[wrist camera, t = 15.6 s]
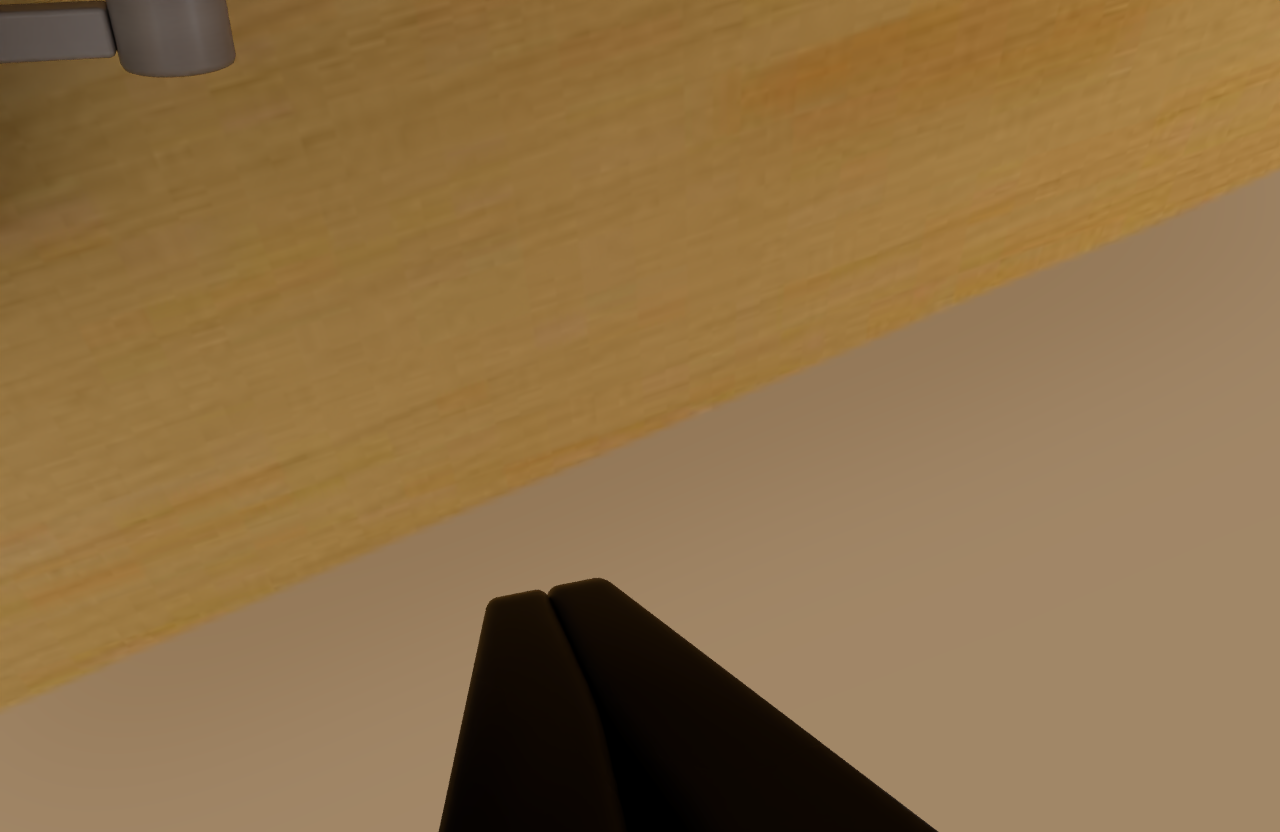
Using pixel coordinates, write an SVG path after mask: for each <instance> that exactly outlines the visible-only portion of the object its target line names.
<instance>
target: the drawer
mask: <svg viewBox="0 0 1280 832" xmlns="http://www.w3.org/2000/svg"><path fill="white" fill-rule="evenodd" d="M105 1H106V2H105ZM105 1H78V2H54V3H30V4H6V5H0V64H3V63H21V62H39V61H57V60H75V59H94V58H111V57H113V56H115V54H116V51H118V55H119V59H120V63H121V65H122V66H123V68H124V69H125V70H126V71H127V72H129V73H133V74H137V75H141V76H148V77H185V76H194V75H201V74H206V73H211V72H215V71H218V70H221V69H223V68H226V67H228V66H230V65H231V64H233V63H234V61H235V57H236V53H235V47H234V42H233V36H232V31H231V26H230V20H229V15H228V9H227V4H226V0H105Z"/></svg>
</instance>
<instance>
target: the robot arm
mask: <svg viewBox="0 0 1280 832" xmlns="http://www.w3.org/2000/svg"><path fill="white" fill-rule="evenodd" d="M439 832H938V831H937V830H935V829H934V828H933V827H931V826H930V825H929V824H927V823H926V822H925V821H923V820H922V819H921V818H920V817H918V816H917V815H915V814H914V813H913V812H912V811H910V810H909V809H907V808H906V807H905V806H903V805H902V804H901V803H900V802H898V801H897V800H896V799H895V798H893V797H892V796H891V795H889V794H888V793H887V792H885V791H884V790H883V789H881V788H880V787H879V786H877V785H876V784H875V783H873V782H872V781H871V780H870V779H868V778H867V777H866V776H864V775H863V774H861V773H860V772H859V771H858V770H856V769H855V768H854V767H852V766H851V765H850V764H849V763H847V762H846V761H845V760H843V759H842V758H840V757H839V756H838V755H837V754H835V753H834V752H833V751H831V750H830V749H829V748H827V747H826V746H825V745H823V744H822V743H821V742H820V741H818V740H817V739H816V738H814V737H813V736H812V735H810V734H809V733H808V732H806V731H805V730H804V729H803V728H801V727H800V726H799V725H797V724H796V723H795V722H793V721H792V720H791V719H789V718H788V717H787V716H785V715H784V714H783V713H781V712H780V711H779V710H777V709H776V708H775V707H773V706H772V705H771V704H769V703H768V702H767V701H766V700H764V699H763V698H762V697H760V696H759V695H758V694H757V693H755V692H754V691H753V690H751V689H750V688H748V687H747V686H746V685H745V684H743V683H742V682H741V681H739V680H738V679H737V678H735V677H734V676H733V675H732V674H730V673H729V672H727V671H726V670H725V669H724V668H722V667H721V666H720V665H718V664H717V663H716V662H714V661H713V660H712V659H710V658H709V657H708V656H706V655H705V654H704V653H703V652H701V651H700V650H698V649H697V648H696V647H695V646H693V645H692V644H691V643H689V642H688V641H687V640H685V639H684V638H683V637H681V636H680V635H679V634H678V633H676V632H675V631H674V630H672V629H671V628H670V627H668V626H667V625H666V624H664V623H663V622H662V621H661V620H659V619H658V618H657V617H655V616H654V615H653V614H651V613H650V612H649V611H647V610H646V609H645V608H643V607H642V606H641V605H639V604H638V603H637V602H635V601H634V600H633V599H631V598H630V597H629V596H628V595H626V594H625V593H624V592H622V591H621V590H620V589H618V588H617V587H616V586H615V585H613V584H612V583H611V582H609V581H607V580H605V579H602V578H592V579H587V580H582V581H578V582H572V583H567V584H562V585H558V586H555V587H553V588H552V589H551V590H550V591H549V592H548V595H547V594H546V593H545V592H543V591H541V590H532V591H527V592H522V593H516V594H512V595H506V596H501V597H496V598H494V599H492V600H491V601H490V602H489V604H488V605H487V607H486V611H485V616H484V621H483V625H482V630H481V635H480V640H479V644H478V649H477V653H476V658H475V663H474V668H473V672H472V677H471V682H470V687H469V691H468V696H467V701H466V705H465V710H464V715H463V720H462V725H461V730H460V734H459V739H458V743H457V748H456V753H455V757H454V762H453V767H452V772H451V776H450V781H449V787H448V790H447V795H446V800H445V805H444V810H443V814H442V819H441V824H440V828H439Z"/></svg>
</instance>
